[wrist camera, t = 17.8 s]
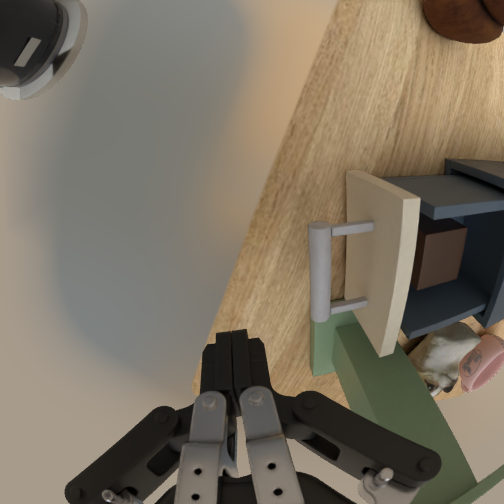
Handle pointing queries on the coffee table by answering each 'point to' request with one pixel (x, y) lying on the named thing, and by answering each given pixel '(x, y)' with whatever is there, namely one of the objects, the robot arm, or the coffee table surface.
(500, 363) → the mug
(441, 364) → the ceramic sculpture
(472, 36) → the wooden figurine
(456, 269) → the block
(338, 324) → the stand
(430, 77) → the coffee table surface
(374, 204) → the drawer
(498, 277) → the cabinet
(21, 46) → the robot arm
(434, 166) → the coffee table surface
